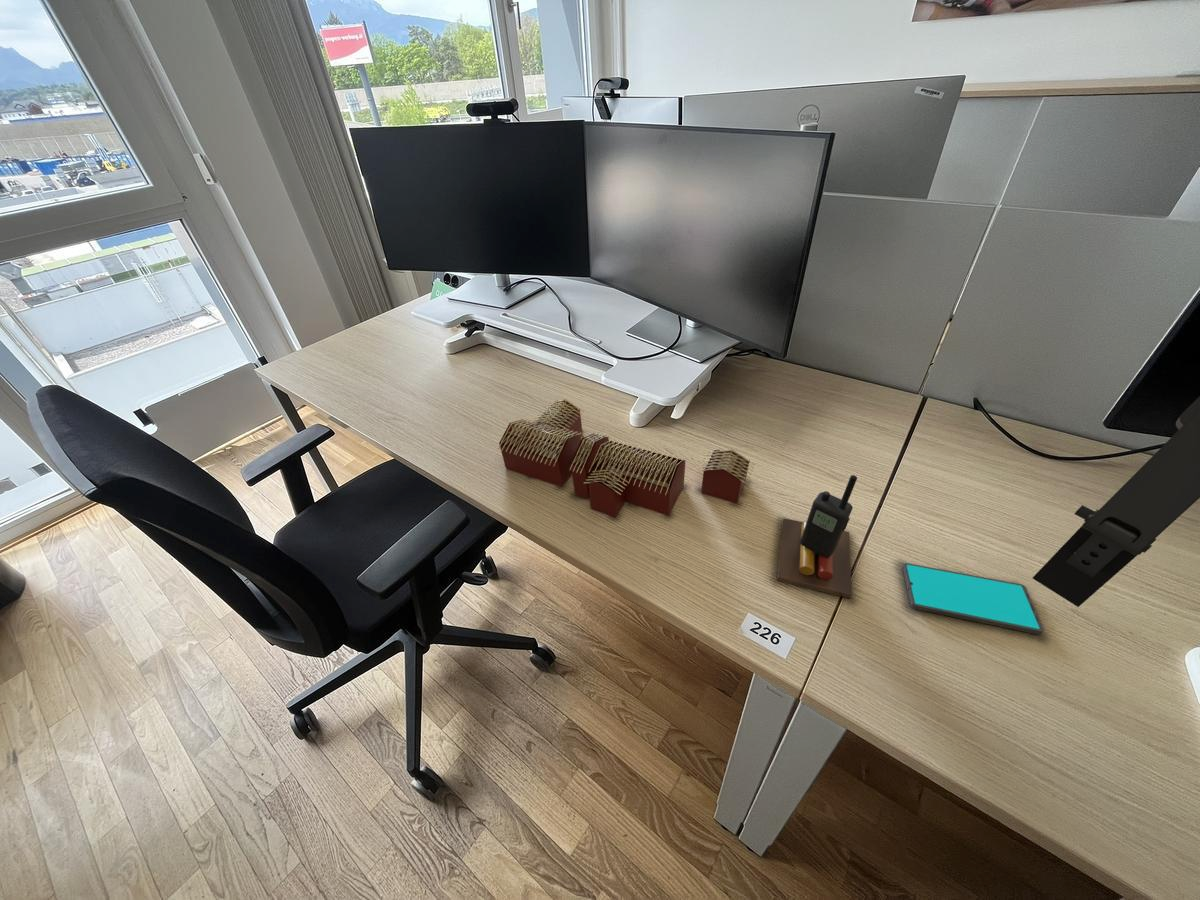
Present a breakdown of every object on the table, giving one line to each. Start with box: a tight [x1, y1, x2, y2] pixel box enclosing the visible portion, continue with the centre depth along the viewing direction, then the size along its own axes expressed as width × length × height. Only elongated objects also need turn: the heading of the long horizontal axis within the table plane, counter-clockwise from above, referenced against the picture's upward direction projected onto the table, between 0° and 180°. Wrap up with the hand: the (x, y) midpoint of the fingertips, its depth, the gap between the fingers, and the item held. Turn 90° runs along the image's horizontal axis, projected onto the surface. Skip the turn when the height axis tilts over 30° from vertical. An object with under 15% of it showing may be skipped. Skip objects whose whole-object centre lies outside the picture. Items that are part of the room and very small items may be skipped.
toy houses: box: [497, 399, 756, 518], centre depth 85 cm, size 45×20×10 cm, turn 63°
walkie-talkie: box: [800, 474, 858, 558], centre depth 65 cm, size 5×3×15 cm
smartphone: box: [902, 562, 1045, 635], centre depth 64 cm, size 7×1×15 cm
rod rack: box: [776, 517, 853, 600], centre depth 71 cm, size 10×12×3 cm
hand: (1101, 547), depth 34 cm, fingers open, 13 cm apart
